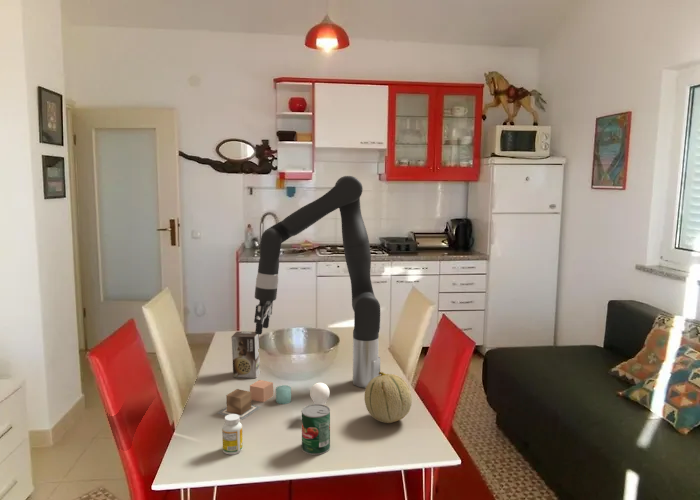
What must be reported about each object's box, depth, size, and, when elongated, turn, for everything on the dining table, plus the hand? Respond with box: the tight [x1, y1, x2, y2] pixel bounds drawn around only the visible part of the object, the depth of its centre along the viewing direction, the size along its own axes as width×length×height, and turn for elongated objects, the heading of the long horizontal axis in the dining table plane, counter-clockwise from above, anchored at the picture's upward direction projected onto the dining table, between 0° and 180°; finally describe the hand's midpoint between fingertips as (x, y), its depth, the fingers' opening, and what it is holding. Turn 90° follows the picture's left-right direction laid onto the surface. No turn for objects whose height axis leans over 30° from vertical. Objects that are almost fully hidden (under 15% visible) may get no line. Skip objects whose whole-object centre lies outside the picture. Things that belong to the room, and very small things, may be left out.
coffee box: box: [231, 330, 261, 379], centre depth 197 cm, size 9×6×16 cm
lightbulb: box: [309, 382, 330, 406], centre depth 163 cm, size 6×6×11 cm
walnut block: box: [225, 388, 252, 415], centre depth 167 cm, size 6×6×6 cm
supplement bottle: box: [221, 414, 244, 456], centre depth 143 cm, size 5×5×10 cm
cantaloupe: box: [364, 371, 413, 424], centre depth 160 cm, size 15×15×15 cm
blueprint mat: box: [216, 404, 261, 420], centre depth 167 cm, size 10×10×1 cm
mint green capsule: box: [275, 384, 292, 405], centre depth 174 cm, size 5×5×5 cm
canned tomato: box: [300, 403, 331, 456], centre depth 144 cm, size 8×8×11 cm
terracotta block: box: [249, 379, 274, 403], centre depth 176 cm, size 6×6×6 cm
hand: (261, 330), depth 183 cm, fingers open, 8 cm apart
